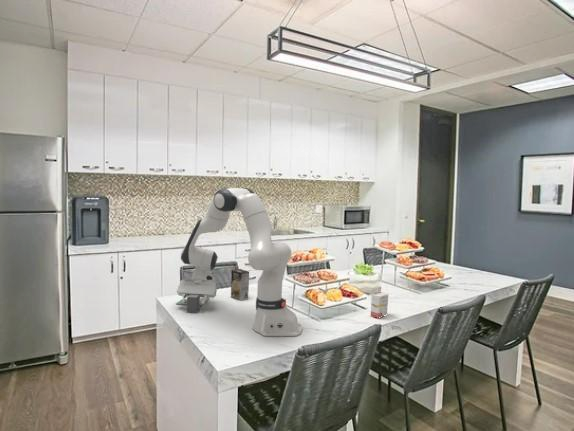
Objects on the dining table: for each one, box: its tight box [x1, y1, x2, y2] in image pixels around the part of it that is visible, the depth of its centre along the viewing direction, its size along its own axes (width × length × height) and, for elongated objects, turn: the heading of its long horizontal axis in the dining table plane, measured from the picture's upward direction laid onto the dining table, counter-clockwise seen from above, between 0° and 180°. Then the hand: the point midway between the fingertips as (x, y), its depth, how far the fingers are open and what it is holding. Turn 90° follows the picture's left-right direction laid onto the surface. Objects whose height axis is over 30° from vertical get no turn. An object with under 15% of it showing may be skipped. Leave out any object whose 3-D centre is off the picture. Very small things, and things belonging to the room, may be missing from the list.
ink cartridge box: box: [370, 286, 389, 319], centre depth 190 cm, size 9×5×15 cm, turn 135°
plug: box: [186, 294, 201, 315], centre depth 187 cm, size 5×4×8 cm
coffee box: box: [230, 268, 250, 302], centre depth 212 cm, size 9×6×16 cm
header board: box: [175, 296, 211, 307], centre depth 203 cm, size 14×14×2 cm
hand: (193, 303), depth 186 cm, fingers open, 8 cm apart
